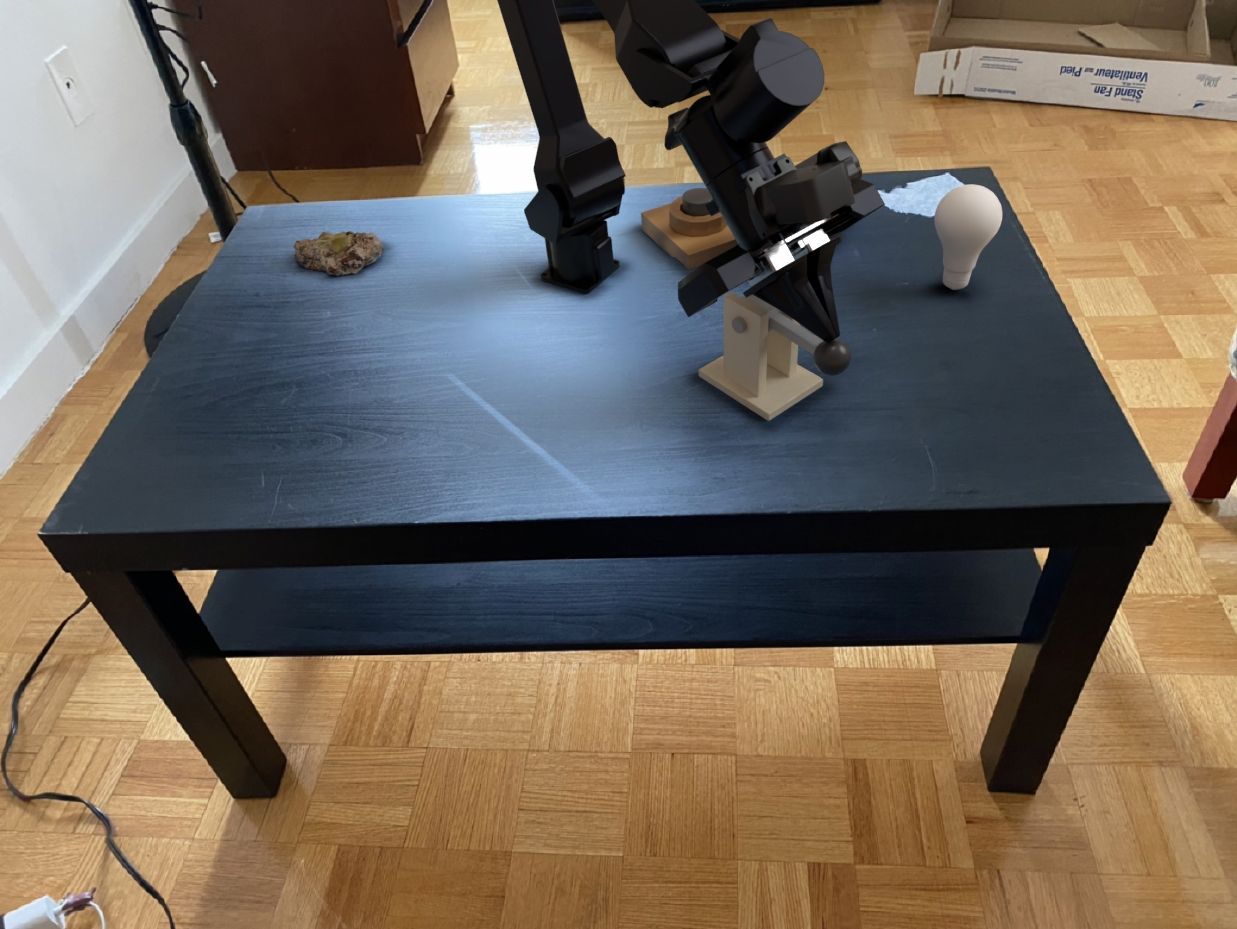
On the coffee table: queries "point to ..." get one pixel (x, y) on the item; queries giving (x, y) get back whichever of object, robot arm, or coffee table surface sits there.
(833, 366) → the switch lever
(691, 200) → the button
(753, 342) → the switch bracket
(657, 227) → the button block
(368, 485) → the coffee table surface
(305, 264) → the mineral rock
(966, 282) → the lightbulb
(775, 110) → the robot arm
